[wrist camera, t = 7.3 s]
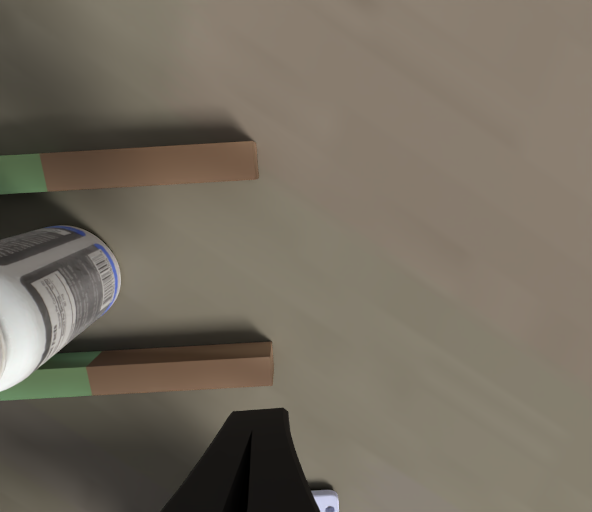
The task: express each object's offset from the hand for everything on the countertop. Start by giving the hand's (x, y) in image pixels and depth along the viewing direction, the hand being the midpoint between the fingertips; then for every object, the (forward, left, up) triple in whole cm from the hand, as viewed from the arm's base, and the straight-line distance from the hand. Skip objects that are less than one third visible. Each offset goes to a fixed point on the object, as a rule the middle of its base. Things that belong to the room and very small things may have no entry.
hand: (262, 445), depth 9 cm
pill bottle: (+2, +9, -10) cm, 14 cm away
